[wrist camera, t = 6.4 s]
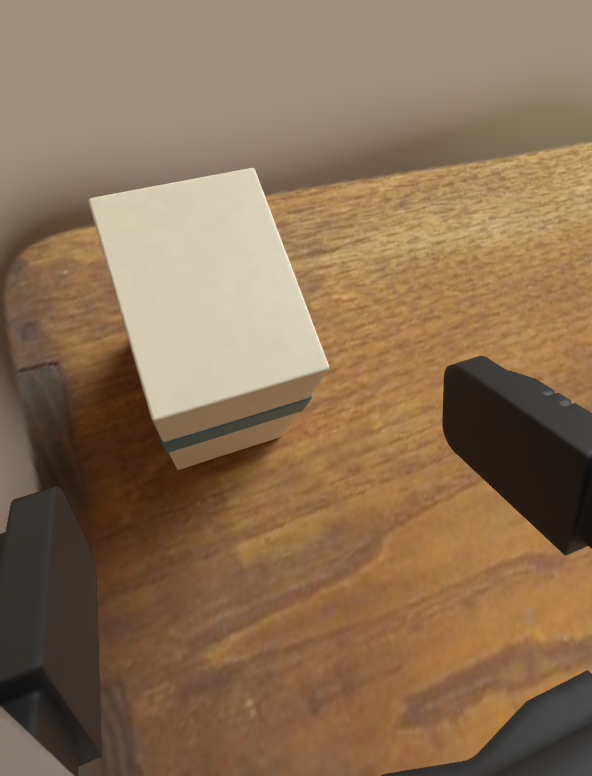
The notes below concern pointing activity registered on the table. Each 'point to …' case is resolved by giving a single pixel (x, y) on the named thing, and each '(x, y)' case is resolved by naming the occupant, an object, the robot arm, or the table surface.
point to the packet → (210, 312)
